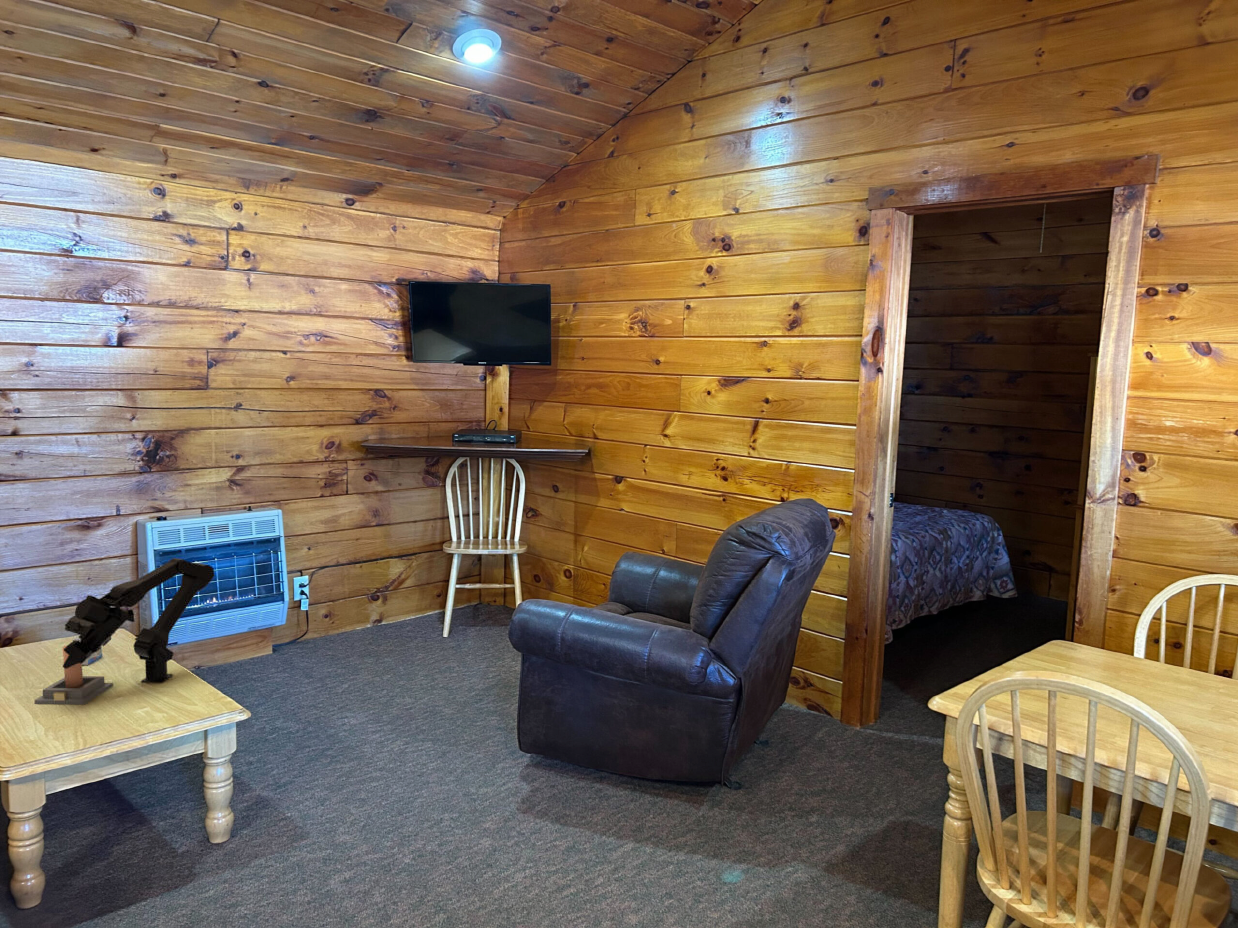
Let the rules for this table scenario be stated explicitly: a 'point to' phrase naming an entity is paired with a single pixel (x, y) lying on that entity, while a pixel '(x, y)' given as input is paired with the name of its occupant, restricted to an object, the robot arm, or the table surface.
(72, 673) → the terracotta peg
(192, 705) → the table surface
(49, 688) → the gray square tray
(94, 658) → the medicine box
